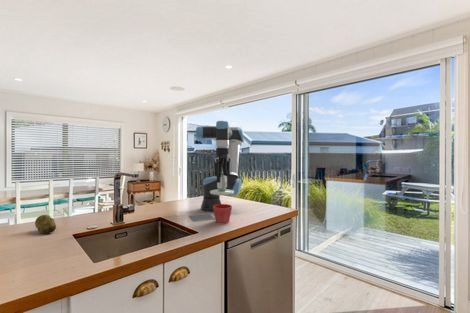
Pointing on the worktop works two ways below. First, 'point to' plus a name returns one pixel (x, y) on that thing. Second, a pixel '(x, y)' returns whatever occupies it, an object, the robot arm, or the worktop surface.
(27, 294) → the worktop surface
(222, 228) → the worktop surface
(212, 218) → the mat
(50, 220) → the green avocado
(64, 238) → the worktop surface
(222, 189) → the lid
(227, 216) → the flower pot
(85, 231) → the worktop surface
